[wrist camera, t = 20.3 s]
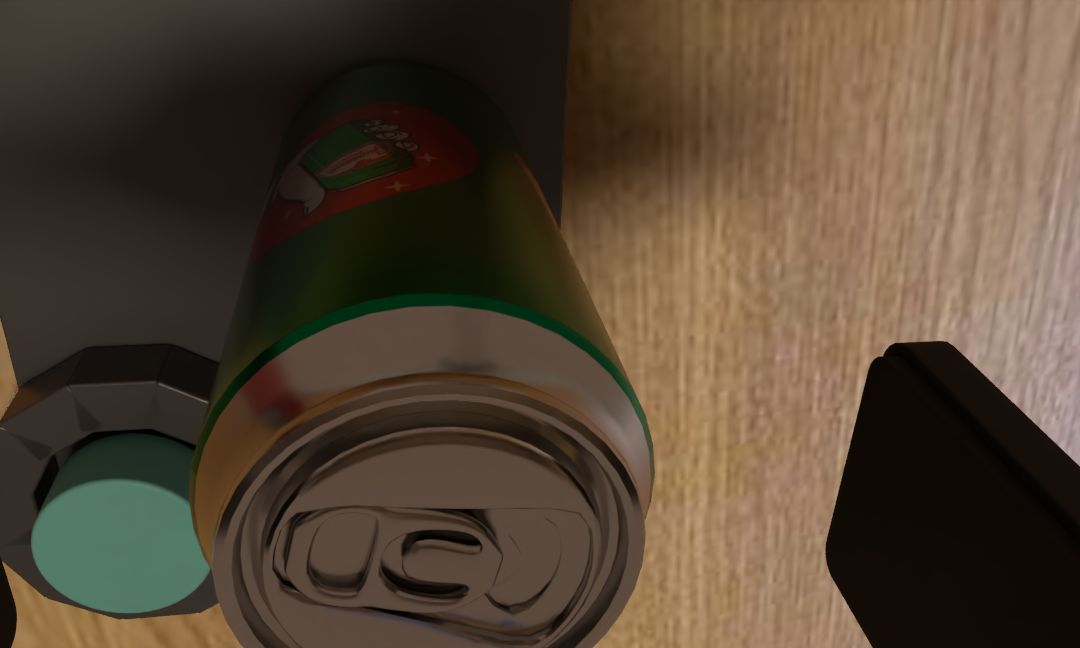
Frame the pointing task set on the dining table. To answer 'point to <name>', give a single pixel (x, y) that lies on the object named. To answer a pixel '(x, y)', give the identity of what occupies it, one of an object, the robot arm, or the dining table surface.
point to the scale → (187, 194)
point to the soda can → (417, 394)
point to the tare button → (121, 526)
